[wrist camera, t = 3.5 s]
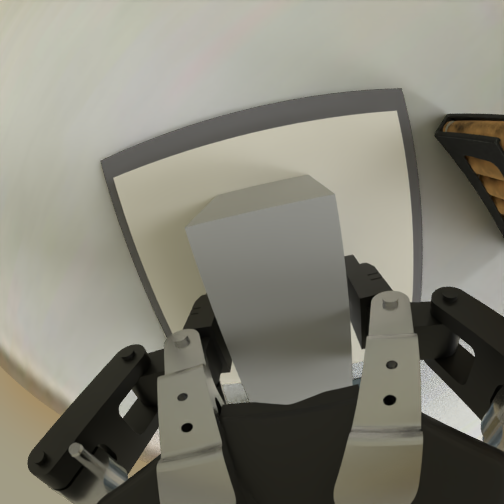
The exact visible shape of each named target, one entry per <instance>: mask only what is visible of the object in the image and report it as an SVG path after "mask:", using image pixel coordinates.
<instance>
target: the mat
mask: <svg viewBox="0 0 504 504" xmlns="http://www.w3.org/2000/svg"><path fill="white" fill-rule="evenodd" d="M386 111H397V114H398V119H399V123H400V128H401V133H402V139H403V144H404V150H405V157H406V163H407V171H408V178H409V187H410V197H411V209H412V225H413V296H412V302H421V286H422V215H421V200H420V188H419V179H418V170H417V162H416V155H415V149H414V143H413V137H412V132H411V127H410V122H409V117H408V112H407V108H406V104H405V99H404V95H403V92H402V88H397V89H375V90H362V91H351V92H341V93H333V94H325V95H318V96H311V97H305V98H299V99H293V100H288V101H283V102H277V103H273V104H268V105H263V106H259V107H254V108H250V109H246V110H242V111H238V112H234V113H230V114H227V115H223V116H219V117H216V118H213V119H209V120H206V121H202V122H199V123H196V124H193V125H190V126H187V127H184V128H181V129H178V130H175V131H172V132H169V133H166V134H164V135H161V136H158V137H156V138H153V139H150V140H148V141H145V142H143V143H140V144H138V145H135V146H133V147H130V148H128V149H126V150H123V151H121V152H119V153H116V154H114V155H112V156H110V157H108V158H105V159H103V160H101V164H102V168H103V172H104V175H105V179H106V182H107V186H108V189H109V193H110V196H111V199H112V202H113V205H114V209H115V212H116V215H117V218H118V221H119V224H120V226H121V229H122V232H123V235H124V238H125V241H126V243H127V246H128V249H129V251H130V254H131V257H132V259H133V262H134V264H135V267H136V269H137V272H138V274H139V277H140V279H141V281H142V284H143V286H144V289H145V291H146V293H147V296H148V298H149V300H150V302H151V305H152V307H153V309H154V311H155V313H156V315H157V318H158V320H159V322H160V324H161V326H162V328H163V330H164V332H165V334H166V336H167V338H168V337H169V336H171V335H172V332H171V330H170V327H169V325H168V323H167V321H166V319H165V317H164V314H163V312H162V310H161V308H160V305H159V303H158V301H157V299H156V296H155V294H154V292H153V289H152V287H151V284H150V282H149V280H148V277H147V275H146V272H145V270H144V267H143V265H142V262H141V259H140V257H139V254H138V251H137V249H136V246H135V243H134V241H133V238H132V235H131V232H130V229H129V226H128V223H127V221H126V218H125V215H124V211H123V208H122V205H121V202H120V199H119V196H118V192H117V189H116V186H115V182H114V179H113V178H114V177H116V176H119V175H121V174H124V173H126V172H129V171H131V170H134V169H137V168H139V167H142V166H145V165H147V164H150V163H153V162H156V161H158V160H161V159H164V158H167V157H170V156H173V155H176V154H179V153H182V152H185V151H188V150H192V149H195V148H198V147H201V146H205V145H208V144H212V143H215V142H219V141H222V140H226V139H230V138H234V137H238V136H242V135H246V134H250V133H254V132H258V131H262V130H267V129H272V128H276V127H281V126H286V125H291V124H296V123H302V122H307V121H313V120H319V119H326V118H332V117H339V116H347V115H355V114H364V113H374V112H386Z"/></svg>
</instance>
